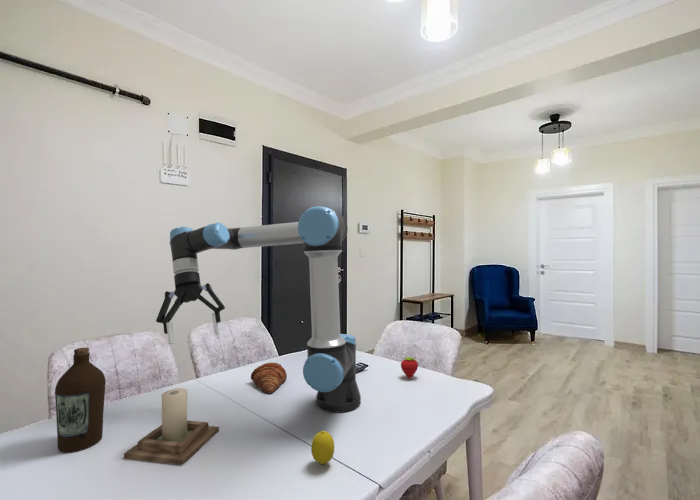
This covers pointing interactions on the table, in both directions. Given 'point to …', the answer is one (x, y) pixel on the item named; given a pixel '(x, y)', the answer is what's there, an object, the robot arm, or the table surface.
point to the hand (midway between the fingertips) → (194, 338)
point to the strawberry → (409, 366)
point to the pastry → (269, 377)
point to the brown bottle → (80, 404)
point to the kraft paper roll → (174, 415)
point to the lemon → (322, 447)
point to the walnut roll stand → (172, 445)
